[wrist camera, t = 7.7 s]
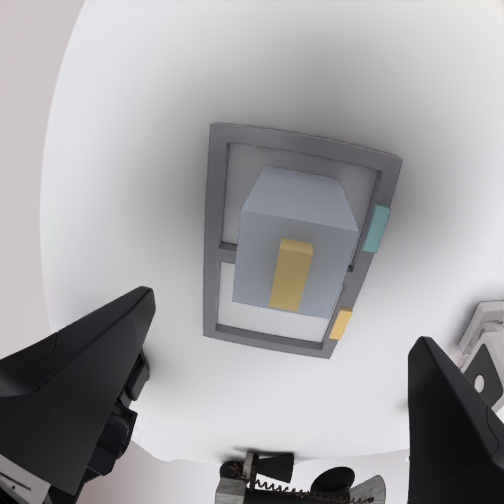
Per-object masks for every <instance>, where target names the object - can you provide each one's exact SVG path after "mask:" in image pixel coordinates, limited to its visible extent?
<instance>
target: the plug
mask: <svg viewBox="0 0 504 504" xmlns="http://www.w3.org/2000/svg"><path fill="white" fill-rule="evenodd" d="M358 235H359V230H358V227H357V224H356V221H355V218H354V216H353V213H352V210H351V208H350V205H349V202H348V200H347V197H346V195H345V192H344V190H343V187H342V185H341V182H340V180H339V179H335V178H330V177H325V176H320V175H315V174H310V173H305V172H300V171H294V170H289V169H283V168H277V167H271V166H264V168H263V170H262V171H261V173H260V175H259V177H258V179H257V181H256V183H255V184H254V186H253V188H252V190H251V192H250V194H249V196H248V197H247V199H246V201H245V203H244V205H243V207H242V209H241V214H240V224H239V234H238V244H237V254H236V264H235V275H234V286H233V297H232V301H233V302H238V303H243V304H248V305H253V306H258V307H263V308H269V309H274V310H279V311H285V312H291V313H296V314H302V315H308V316H314V317H320V318H327V319H329V318H330V315H331V312H332V310H333V307H334V305H335V302H336V299H337V297H338V294H339V291H340V288H341V286H342V283H343V280H344V277H345V274H346V271H347V268H348V265H349V262H350V259H351V256H352V253H353V250H354V247H355V244H356V241H357V238H358Z"/></svg>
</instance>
